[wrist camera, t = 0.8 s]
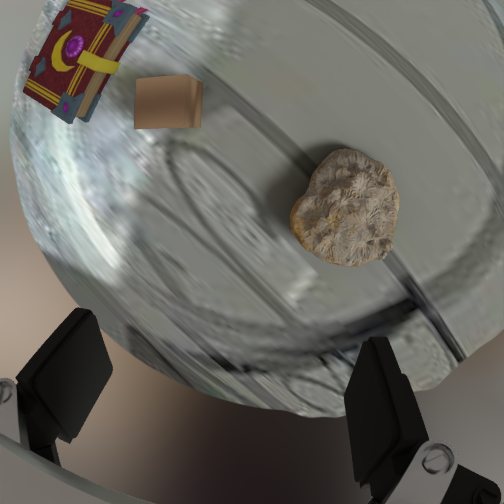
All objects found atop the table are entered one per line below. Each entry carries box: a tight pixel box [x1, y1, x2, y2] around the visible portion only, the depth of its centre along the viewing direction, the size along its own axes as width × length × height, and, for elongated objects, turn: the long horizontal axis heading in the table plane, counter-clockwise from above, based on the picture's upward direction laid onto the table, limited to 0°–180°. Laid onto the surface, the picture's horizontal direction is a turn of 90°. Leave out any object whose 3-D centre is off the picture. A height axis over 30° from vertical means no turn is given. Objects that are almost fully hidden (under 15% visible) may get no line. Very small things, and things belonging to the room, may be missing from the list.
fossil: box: [289, 148, 400, 266], centre depth 29 cm, size 12×8×10 cm
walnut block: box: [134, 74, 203, 129], centre depth 26 cm, size 5×5×6 cm
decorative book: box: [23, 0, 150, 124], centre depth 23 cm, size 11×16×5 cm
